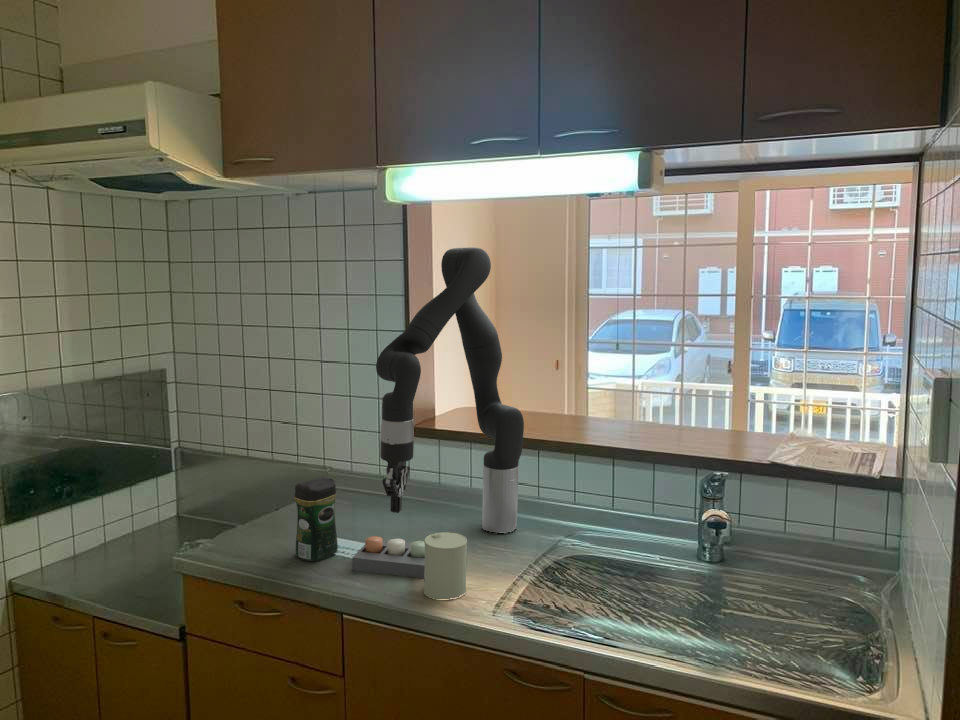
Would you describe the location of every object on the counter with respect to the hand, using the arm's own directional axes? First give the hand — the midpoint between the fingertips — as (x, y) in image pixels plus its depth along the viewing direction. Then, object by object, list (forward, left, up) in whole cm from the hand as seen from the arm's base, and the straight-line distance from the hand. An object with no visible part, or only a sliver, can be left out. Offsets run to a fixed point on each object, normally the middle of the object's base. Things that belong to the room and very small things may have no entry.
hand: (396, 511), depth 170 cm
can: (+11, +15, -13) cm, 22 cm away
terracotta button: (0, -5, -10) cm, 12 cm away
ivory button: (0, 0, -10) cm, 10 cm away
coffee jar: (0, -20, -13) cm, 24 cm away
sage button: (0, +6, -10) cm, 12 cm away
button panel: (0, 0, -13) cm, 13 cm away
